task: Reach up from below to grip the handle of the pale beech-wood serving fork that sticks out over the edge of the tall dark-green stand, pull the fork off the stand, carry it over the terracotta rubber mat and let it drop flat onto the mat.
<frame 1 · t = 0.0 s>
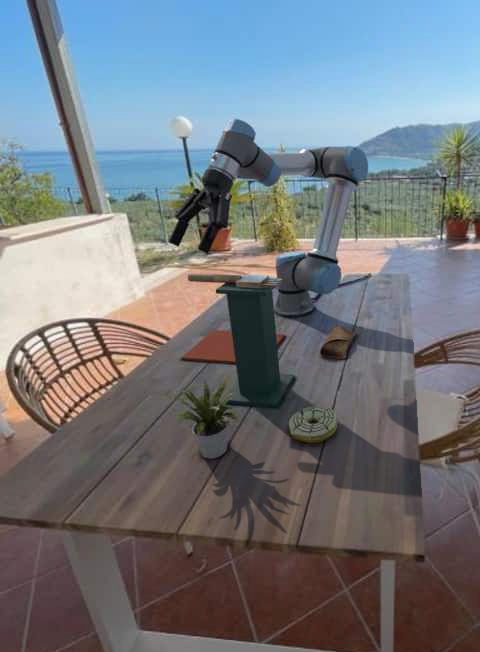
hand: (187, 247, 100), 36 cm above the table, tool tilted 35°, fingers open, 13 cm apart
sunglasses case: (340, 345, 127), on the table
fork: (221, 282, 93), point 29 cm above the table, touching stand
stand: (261, 389, 103), on the table
decorated donut: (313, 431, 88), on the table
mat: (236, 347, 126), on the table
house plant: (208, 453, 81), on the table
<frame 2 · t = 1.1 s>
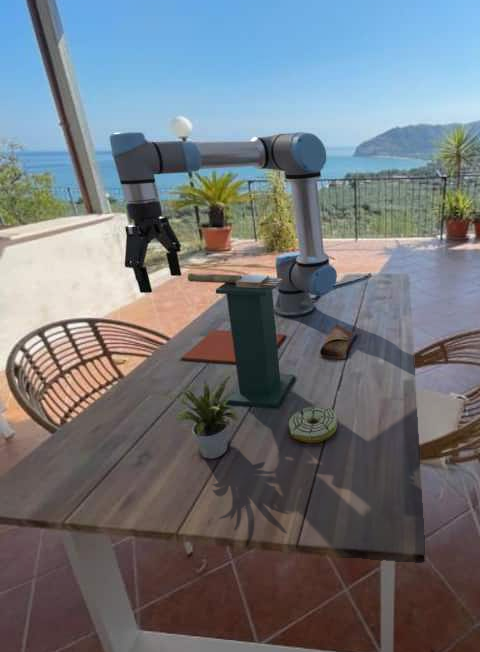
hand: (162, 283, 103), 26 cm above the table, tool pointing down, fingers open, 13 cm apart
nothing on the table moved.
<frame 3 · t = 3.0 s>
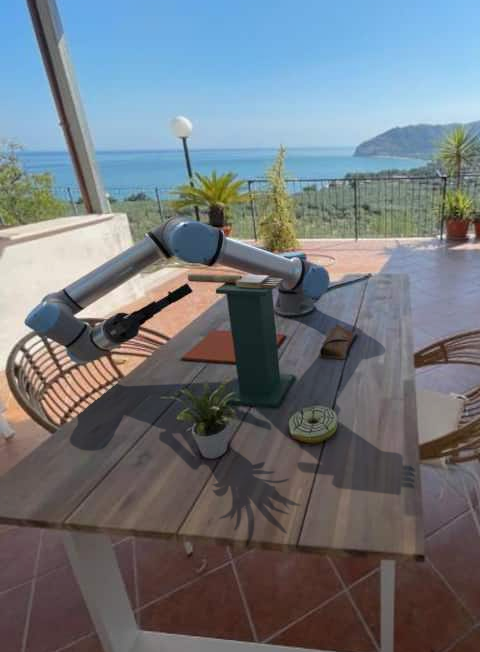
hand: (174, 296, 97), 25 cm above the table, tool pointing upward, fingers open, 13 cm apart
nothing on the table moved.
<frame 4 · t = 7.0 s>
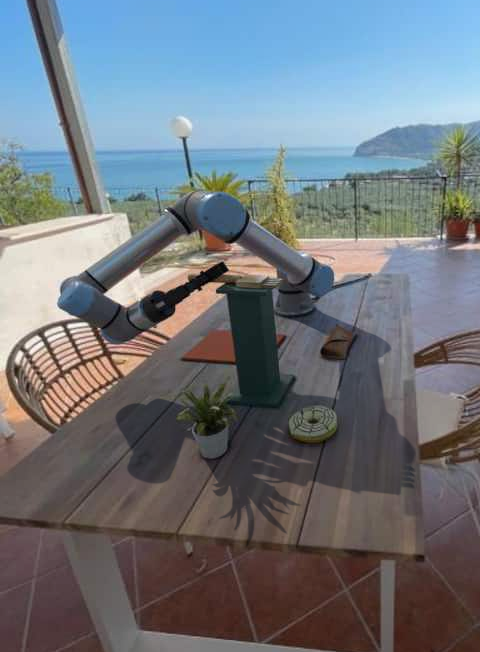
hand: (222, 267, 92), 33 cm above the table, tool pointing upward, fingers closed on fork, 2 cm apart
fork: (221, 282, 93), point 29 cm above the table, touching gripper, stand
everything else where it was.
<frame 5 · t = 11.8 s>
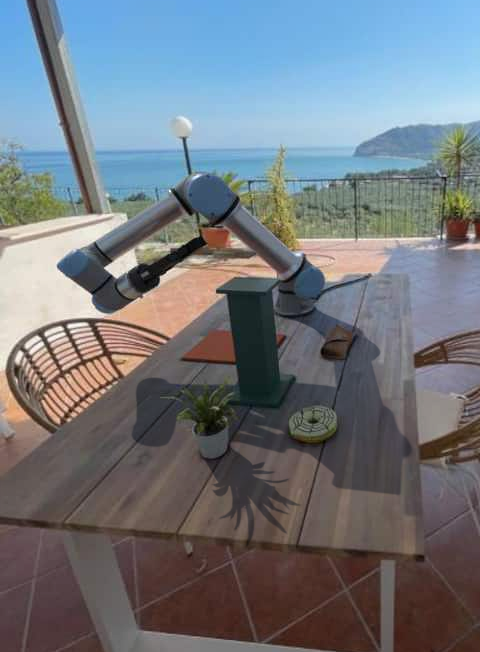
hand: (201, 241, 102), 37 cm above the table, tool pointing upward, fingers closed on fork, 2 cm apart
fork: (200, 254, 103), point 33 cm above the table, touching gripper
everything else where it was.
when the fingers open (24 cm above the table, at t = 16.8 s): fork drops 19 cm, resting on mat.
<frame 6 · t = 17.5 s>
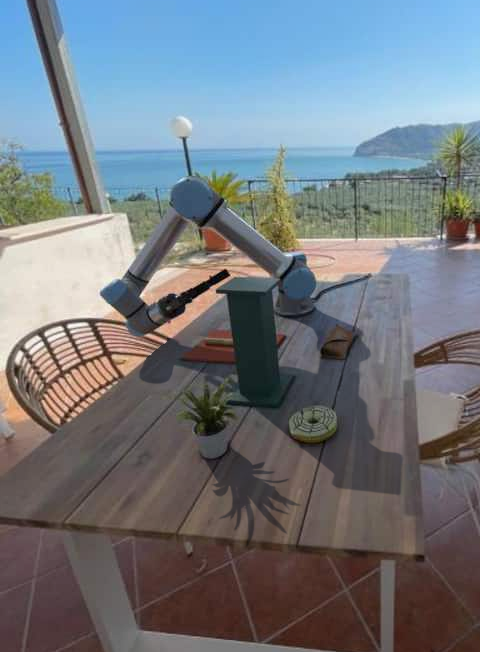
hand: (217, 278, 118), 23 cm above the table, tool pointing upward, fingers open, 12 cm apart
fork: (229, 344, 126), point 1 cm above the table, touching mat
everything else where it was.
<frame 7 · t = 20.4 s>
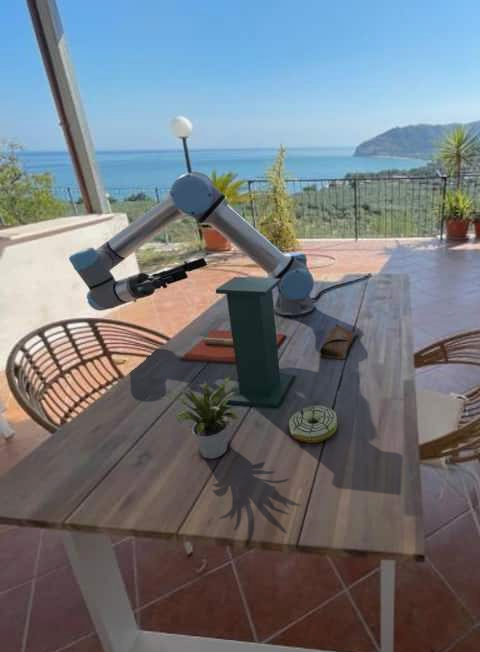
hand: (195, 267, 119), 26 cm above the table, tool pointing upward, fingers open, 13 cm apart
nothing on the table moved.
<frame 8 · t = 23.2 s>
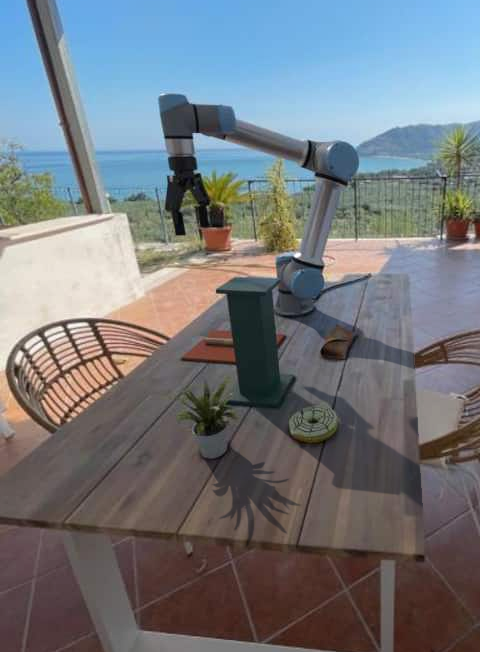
hand: (193, 231, 117), 37 cm above the table, tool pointing down, fingers open, 13 cm apart
nothing on the table moved.
at the end: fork inside the target area on the mat (2.4 cm from its centre), point 0.8 cm above the mat's base; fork touching mat; the gripper is holding nothing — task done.
